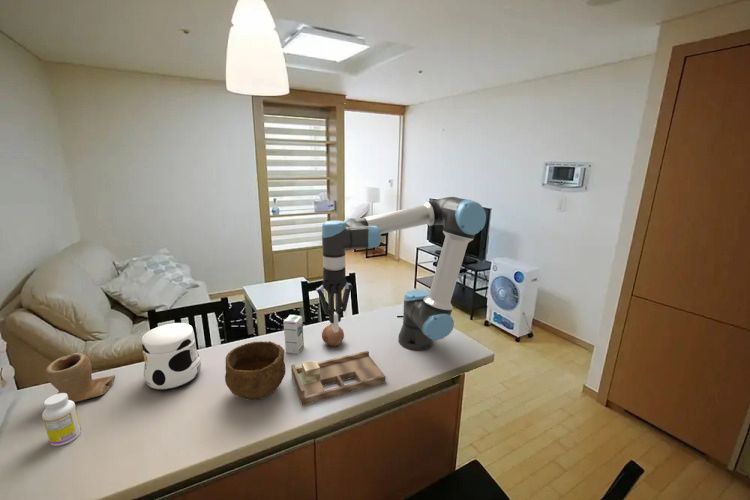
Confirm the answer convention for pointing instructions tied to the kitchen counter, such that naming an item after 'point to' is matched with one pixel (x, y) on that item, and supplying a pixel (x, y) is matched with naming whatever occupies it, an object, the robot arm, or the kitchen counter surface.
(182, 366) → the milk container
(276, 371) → the bowl
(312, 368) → the maple block
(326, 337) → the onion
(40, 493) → the kitchen counter surface
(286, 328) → the syrup box
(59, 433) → the supplement bottle
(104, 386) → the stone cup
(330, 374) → the board
